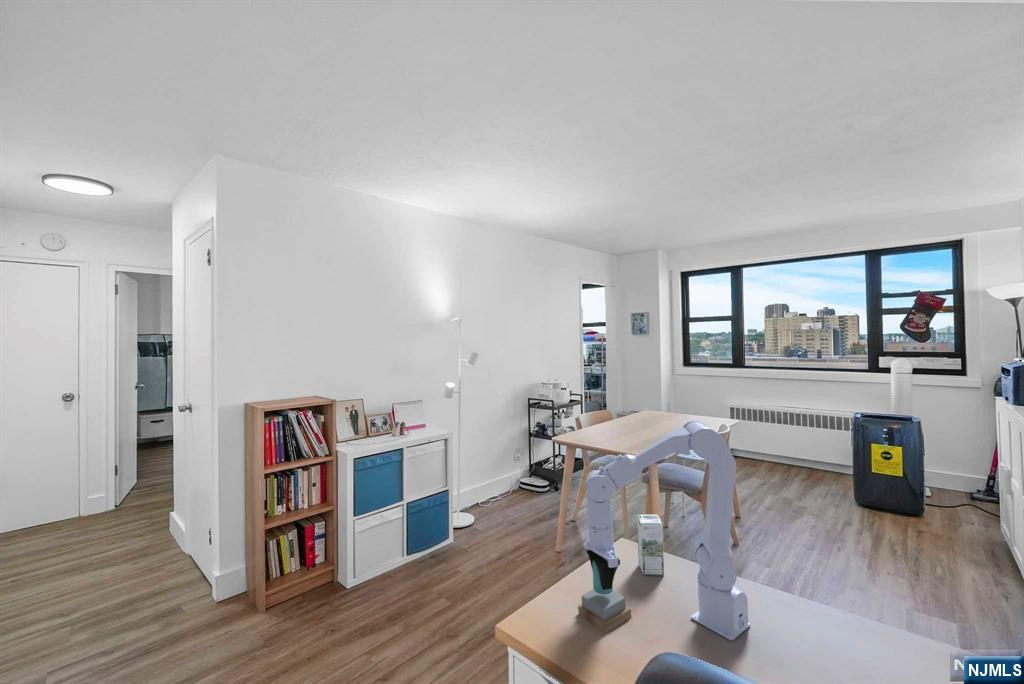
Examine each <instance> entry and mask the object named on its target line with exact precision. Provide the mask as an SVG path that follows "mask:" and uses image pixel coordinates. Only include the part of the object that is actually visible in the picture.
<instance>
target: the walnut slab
mask: <svg viewBox="0 0 1024 684" xmlns="http://www.w3.org/2000/svg"><path fill="white" fill-rule="evenodd" d="M625 606H626V608H625V609H624V610H622V611H621V612H619V613H617V614H616V615H614V616H612V617H611V618H609V619H607V620H606V621H604V620H602V619H601V618H599V617H598V616H596V615H595V614H593V613H592V612H590V611H589V610H587V609H586V608H584V607H583V606H582V603H580V604H578V605H577V608H578V609H577V610H578V613H579V614H578V615H580V616H581V615H582V616H583V618H584V619H585V618H586V620H587V621H588V622H589V623H591V624H593V626H595V627H597V628H598V629H599V630H600V631H602V632H603V633H605V634H607V633H608V632H610V631H611V630H613V629H615V628H616V627H619V626H620V625H622V624H623V623H624V622H626V621H628V620H629V619H631V618H632V608H630V607H629V606H627V605H625ZM582 616H581V617H582Z"/></svg>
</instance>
